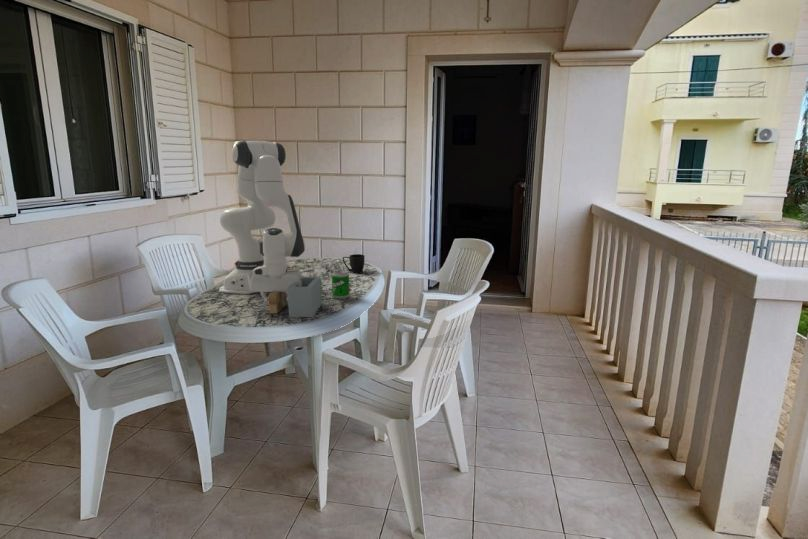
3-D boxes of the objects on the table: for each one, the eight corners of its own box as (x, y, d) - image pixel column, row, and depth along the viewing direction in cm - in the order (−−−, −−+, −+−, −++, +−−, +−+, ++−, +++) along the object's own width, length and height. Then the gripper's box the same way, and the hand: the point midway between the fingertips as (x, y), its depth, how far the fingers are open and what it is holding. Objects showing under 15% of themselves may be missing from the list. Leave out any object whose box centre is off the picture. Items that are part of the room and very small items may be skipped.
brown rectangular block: (277, 314, 180) (276, 294, 178) (269, 313, 180) (268, 294, 178) (286, 304, 191) (284, 286, 189) (278, 304, 191) (277, 286, 189)
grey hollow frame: (289, 317, 175) (287, 288, 173) (300, 303, 193) (299, 276, 190) (312, 318, 175) (310, 288, 172) (321, 304, 193) (320, 276, 190)
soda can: (341, 294, 207) (340, 268, 205) (352, 297, 203) (352, 271, 200) (328, 297, 202) (328, 271, 199) (340, 301, 197) (339, 274, 194)
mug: (344, 270, 253) (343, 254, 251) (365, 270, 253) (365, 254, 251) (341, 274, 245) (341, 257, 243) (363, 274, 245) (363, 257, 243)
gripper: (303, 267, 184) (304, 299, 187) (253, 267, 185) (256, 299, 188) (299, 271, 178) (300, 304, 181) (248, 270, 179) (250, 303, 182)
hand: (277, 301), depth 185 cm, fingers open, 8 cm apart
